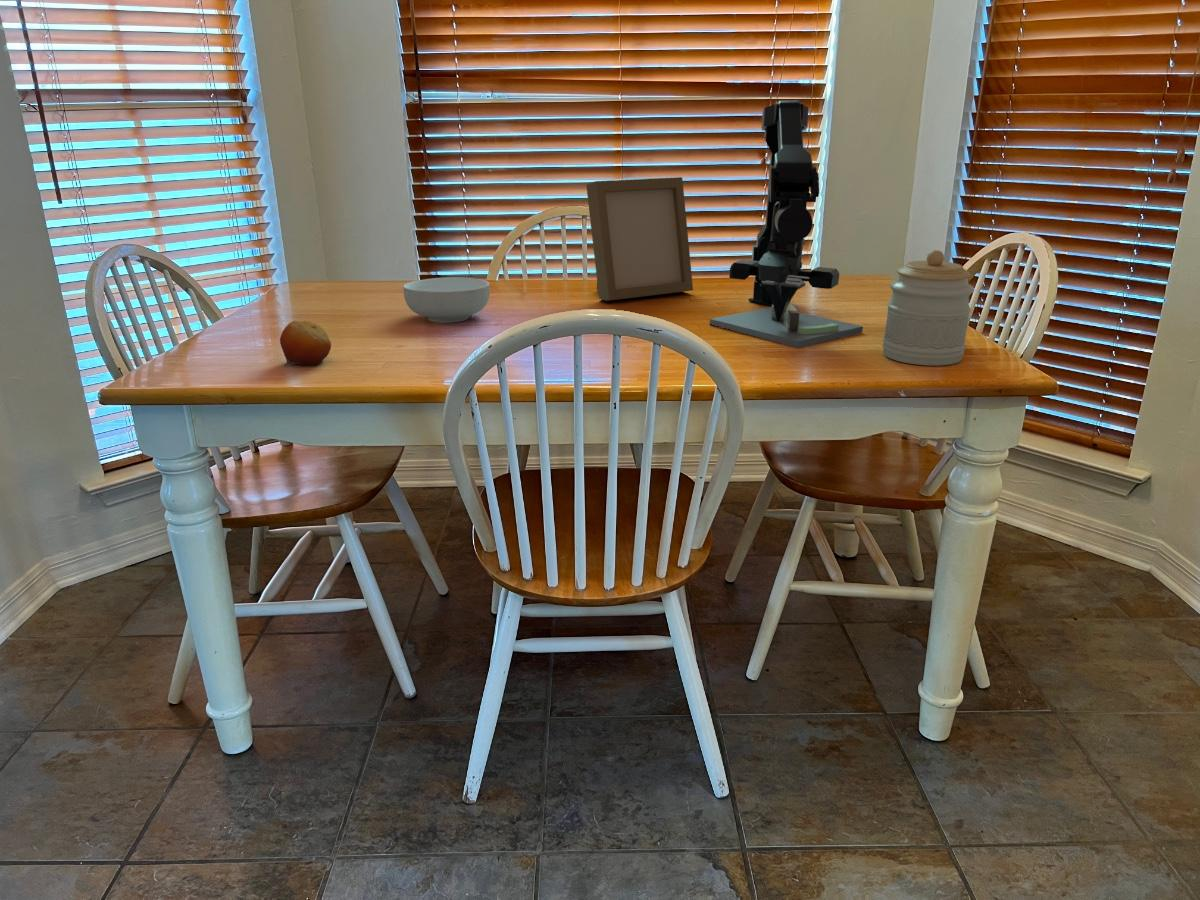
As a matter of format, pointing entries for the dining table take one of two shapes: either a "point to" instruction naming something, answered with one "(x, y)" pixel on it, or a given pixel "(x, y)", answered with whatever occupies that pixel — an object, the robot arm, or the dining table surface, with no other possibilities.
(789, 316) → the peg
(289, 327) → the fruit
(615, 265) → the photo frame
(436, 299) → the cereal bowl
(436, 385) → the dining table surface
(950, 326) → the jar
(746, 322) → the board
